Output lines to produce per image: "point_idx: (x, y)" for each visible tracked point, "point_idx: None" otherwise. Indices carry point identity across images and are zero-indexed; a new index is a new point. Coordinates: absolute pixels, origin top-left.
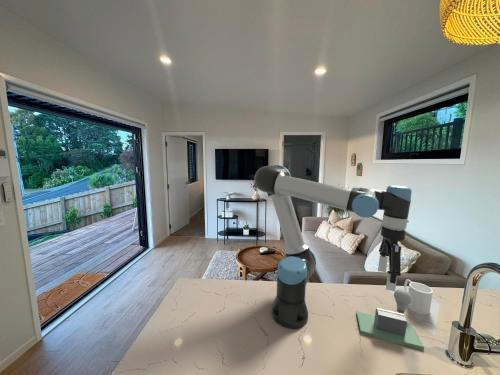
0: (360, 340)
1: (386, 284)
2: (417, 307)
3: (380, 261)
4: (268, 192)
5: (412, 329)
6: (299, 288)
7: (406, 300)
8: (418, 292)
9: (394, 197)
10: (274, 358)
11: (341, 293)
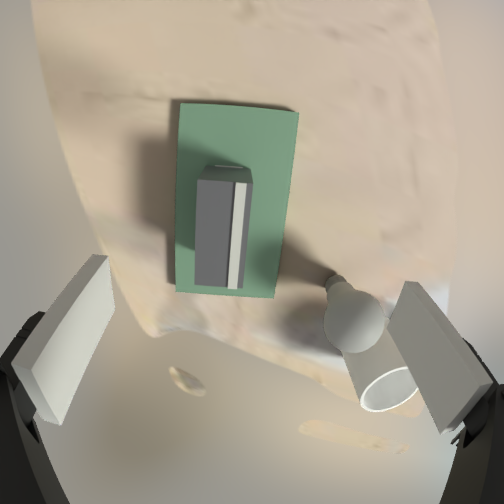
0: (148, 99)
1: (90, 275)
2: None
3: (448, 349)
4: None
5: (246, 289)
6: None
7: (325, 328)
8: (370, 377)
9: None
10: None
11: (416, 92)
